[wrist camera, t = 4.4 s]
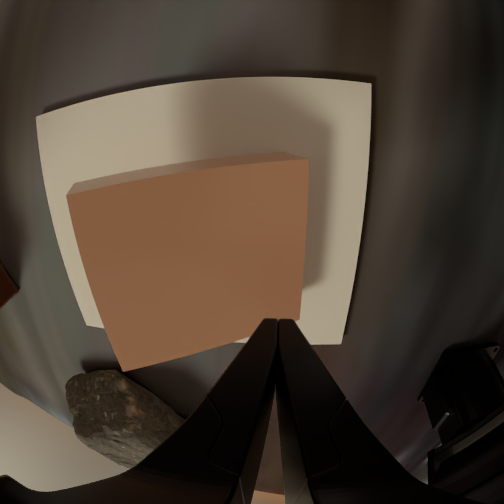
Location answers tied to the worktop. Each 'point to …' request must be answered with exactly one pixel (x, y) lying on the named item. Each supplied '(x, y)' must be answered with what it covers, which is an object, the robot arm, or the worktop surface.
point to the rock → (118, 416)
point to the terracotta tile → (192, 251)
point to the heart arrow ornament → (6, 287)
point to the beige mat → (226, 145)
